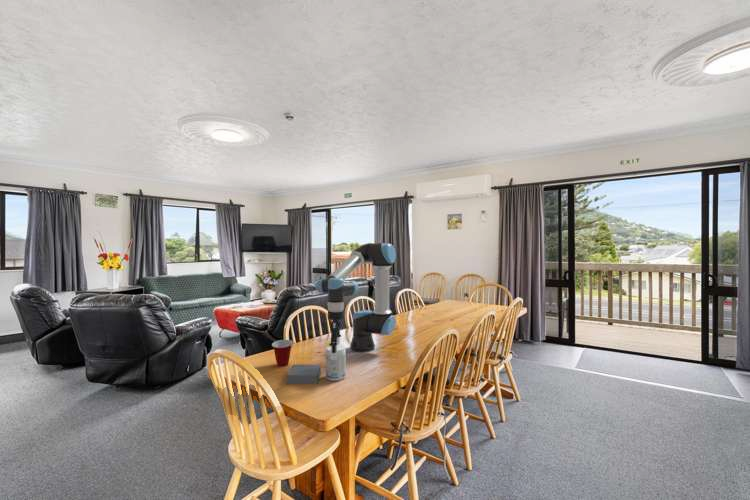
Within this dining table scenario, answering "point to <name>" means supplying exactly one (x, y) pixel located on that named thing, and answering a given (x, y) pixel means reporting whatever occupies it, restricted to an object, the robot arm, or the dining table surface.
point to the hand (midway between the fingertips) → (335, 354)
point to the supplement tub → (336, 364)
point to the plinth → (303, 374)
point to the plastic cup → (282, 351)
